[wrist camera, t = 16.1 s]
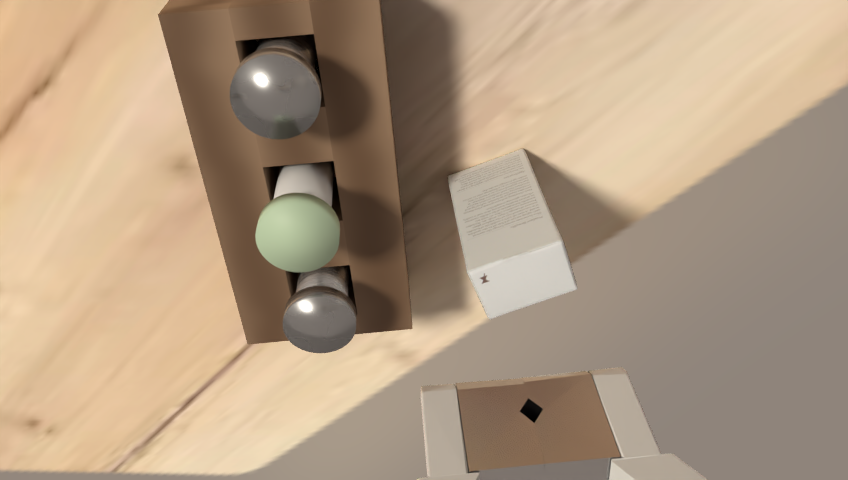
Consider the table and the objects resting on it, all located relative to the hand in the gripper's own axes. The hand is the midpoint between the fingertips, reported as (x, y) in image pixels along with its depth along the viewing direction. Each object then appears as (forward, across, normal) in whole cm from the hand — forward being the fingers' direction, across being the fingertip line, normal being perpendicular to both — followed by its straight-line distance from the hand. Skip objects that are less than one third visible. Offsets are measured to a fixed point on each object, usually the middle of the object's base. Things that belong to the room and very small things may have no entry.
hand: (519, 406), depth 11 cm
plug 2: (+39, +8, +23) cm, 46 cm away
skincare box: (+39, -5, +19) cm, 44 cm away
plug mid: (+37, +8, +15) cm, 41 cm away
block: (+39, +8, +15) cm, 43 cm away
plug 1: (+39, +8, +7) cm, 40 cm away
